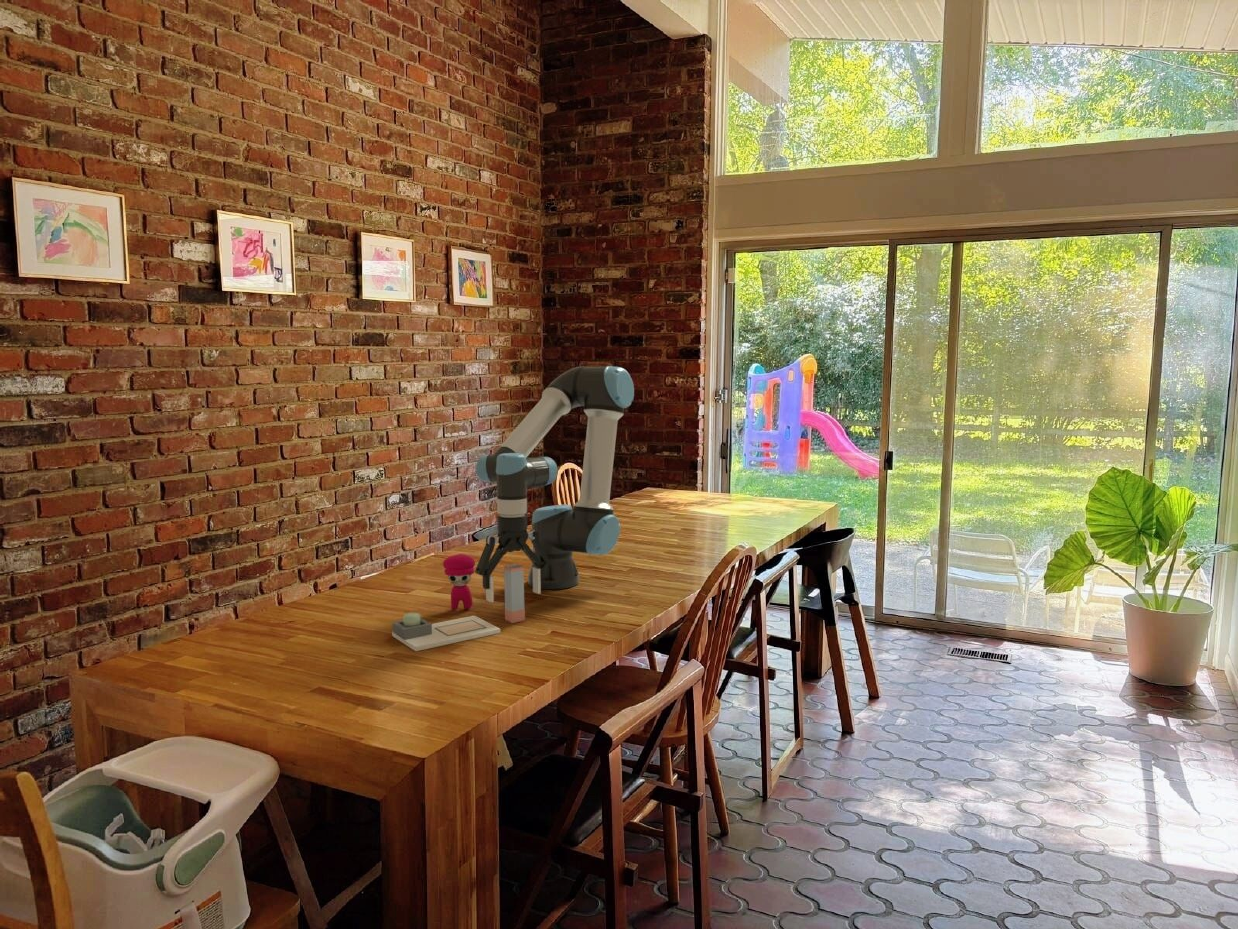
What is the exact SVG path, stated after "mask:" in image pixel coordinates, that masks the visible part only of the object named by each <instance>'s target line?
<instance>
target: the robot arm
mask: <svg viewBox="0 0 1238 929" xmlns="http://www.w3.org/2000/svg"><path fill="white" fill-rule="evenodd" d="M634 386H635V385H634V382H633V378H632V377H631V375H630V373H629V372H628V371H627V370H626V369H625V368H623V367H620V366H611V365H607V366H605V365H604V366H583V365H582V366H576V367H573V368H570V369H568V370H567V371H564V372H563V373H561V374H560V375H559V376H557V377H556V378H555V379H554V380H552V381H551V382H550V383H549V385H547V386H546V388H545V389H544V390H543V391H542V392H541V393H542V394H541V398H540V400H538V402H537V403H536V404H535V406H534V407H533V408H532V409H531V410H530V411H529V412H528V414H527V415H526V416H525V417H524V418H523V419H522V420H521V422H520V423H519V424H518V425H517V426H516V428H514V430H513V431H512V432H511V433H510V434H509V435H508V436H507V438H506V439H505V440H504V441H503V442H502V444H500V445H499V447H498V448H497V450H496V451H495V452H493V454H491V453H488V454H483V455H481V456H480V457H479V458H478V460H477V461H476V465H475V472H476V475H477V477H478V479H479V480H480V481H482V482H484V483H485V482H486V483H490V484H496V490H497V491H496V494H497V495H496V497H497V498H496V510H497V511H496V512H497V514H498V516H497V517H496V518H497V520H496V523H497V535H496V536H491V535H486V538H485V546H484V548H483V550H482V553H481V555H480V558H479V560H478V562H477V565H476V568H475V571H474V574H477V575H480V576H481V577H482V588H483V589H485V600H486V601H487V602H490V603H494V601H495V599H494V598H495V597H494V594H495V592H494V576H493V575H492V573H493V572H494V570H495V569H496V568H497V566H498V565H499V563H500V561H501V560H502V558H503V557H504V556H505V555H506V554H507V553H508V552H509V553H513V552H515V551H516V552H520V551H521V550H522V552H523V553H524V554H525V555H526V556H527V558H528V559H529V560H530V561H531V565H530V568H529V572H528V575H527V584H528V586H529V587H531V588H532V592H533V593H535V594H542V593H541V590H562V589H568V588H572V587H575V586H576V585H578V584H579V582H580V576H579V575H580V574H579V572H578V571H579V570H578V569H577V568H578V567H577V566H576V563H575V560H574V558H573V553H580V554H586V555H588V554H589V556H590V555H591V556H595V555H596V556H604V555H607V554H609V553H610V552H611V551H612V550H613V549H614V548H615V547H616V545H617V543H618V541H619V538H620V534H621V524H620V521H619V518H618V517H617V516H616V515H614V513H615V512H614V511H615V510H614V509H615V508H613V506H612V505H611V503H610V499H611V498H610V497H611V491H612V490H611V488H612V479H613V469H614V459H615V452H616V451H615V450H616V449H615V448H616V441H617V440H616V439H617V432H618V422H619V420H620V419H621V418H622V417H623V416H624V414H625V409H627V408H629V407H630V406H631V405H632V402H633V401H634V397H635V387H634ZM577 407H583V412H584V413H585V415H586V416H587V427H586V435H585V436H586V437H585V444H584V456H583V464H582V465H583V466H582V473H581V484H580V492H579V499H578V501H576V503H574V504H573V508H572V505H570V504H557V505H550V506H549V505H548V506H543V507H539V508H536V509H535V510H534V511H533V512H532V522H531V525H532V526H531V529H530V530H529V531H527V530H528V515H527V513H528V494H527V493H528V489H532V488H539V487H545V486H548V485H551V484H553V483H554V482H555V481H556V479H557V476H558V471H559V470H558V465H557V463H556V461H555V460H554V459H552V458H551V457H549V456H537V457H529V455H530V454H531V453H532V452H533V450H534V449H535V448H536V447H537V446H538V445H539V443H540V442H541V441H542V440H543V439H544V437H545V436H546V435H547V434H548V433H549V431H550V430H551V429H552V428H553V426H554V425H555V424H556V423H557V421H558V420H559V419H560V418H561V417H562V416H565V415H567V414H569V413H570V412H571V410H572V409H575V408H577ZM527 540H530V541H531V544H532V549H531V547H530V546H529V544H528V543H526V542H527ZM497 543H498V546H496V545H497ZM495 546H496V549H495ZM494 549H495V552H494Z"/></svg>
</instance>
